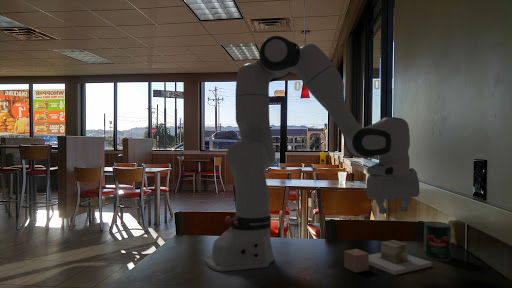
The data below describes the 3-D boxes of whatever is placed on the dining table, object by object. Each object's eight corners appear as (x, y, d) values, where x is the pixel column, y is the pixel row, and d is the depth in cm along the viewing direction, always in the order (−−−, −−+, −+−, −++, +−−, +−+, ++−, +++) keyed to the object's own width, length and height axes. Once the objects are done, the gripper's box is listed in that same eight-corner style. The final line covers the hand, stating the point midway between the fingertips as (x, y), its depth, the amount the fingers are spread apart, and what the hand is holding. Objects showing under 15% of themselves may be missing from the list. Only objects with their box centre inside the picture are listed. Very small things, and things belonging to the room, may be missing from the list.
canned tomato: (443, 253, 117) (443, 221, 117) (456, 261, 109) (456, 226, 109) (419, 253, 117) (419, 221, 117) (431, 260, 109) (431, 226, 109)
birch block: (395, 263, 103) (395, 246, 103) (380, 257, 108) (380, 242, 108) (407, 260, 105) (407, 244, 105) (393, 255, 110) (393, 239, 110)
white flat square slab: (394, 275, 97) (394, 270, 97) (359, 260, 109) (359, 256, 109) (431, 266, 104) (431, 262, 104) (394, 253, 116) (394, 249, 116)
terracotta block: (355, 272, 99) (355, 255, 99) (344, 267, 103) (344, 250, 103) (368, 270, 101) (368, 253, 101) (356, 264, 105) (356, 248, 105)
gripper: (408, 167, 114) (407, 208, 114) (363, 168, 105) (362, 213, 105) (425, 168, 109) (424, 211, 109) (378, 169, 99) (378, 216, 99)
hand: (393, 212), depth 107 cm, fingers open, 8 cm apart
